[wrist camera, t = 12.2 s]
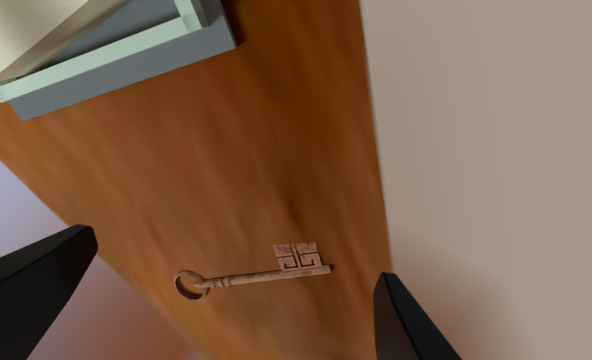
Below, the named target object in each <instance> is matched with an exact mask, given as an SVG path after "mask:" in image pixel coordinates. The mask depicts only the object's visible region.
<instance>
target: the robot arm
mask: <svg viewBox="0 0 592 360" xmlns="http://www.w3.org/2000/svg"><path fill="white" fill-rule="evenodd" d="M97 250H98V243H97V240H96V237H95V233H94V230H93V228H92V227H91V226H87V225H80V224H77V225H74V226H71V227H69V228H67V229H65V230H62V231H60V232H58V233H55V234H53V235H51V236H49V237H46V238H44V239H42V240H39V241H37V242H35V243H33V244H30V245H28V246H26V247H23V248H21V249H19V250H17V251H14V252H12V253H9V254H7V255H5V256H3V257H0V360H26V359H27V358H28V357H29V355H30V354H31V352H32V351H33V350H34V348H35V347H36V345H37V344H38V343H39V341H40V340H41V338H42V337H43V336H44V334H45V333H46V331H47V330H48V329H49V327H50V326H51V324H52V323H53V322H54V320H55V319H56V318H57V316H58V315H59V313H60V312H61V311H62V309H63V308H64V306H65V305H66V303H67V302H68V301H69V299H70V297H71V296H72V294H73V293H74V291H75V289H76V288H77V286H78V284H79V282H80V281H81V279H82V277H83V276H84V274H85V272H86V270H87V269H88V267H89V265H90V264H91V262H92V260H93V258H94V256H95V255H96V253H97ZM373 300H374V327H375V347H376V355H377V360H462V359H461V357H460V356H459V355H458V354H457V352H456V351H455V350H454V348H453V347H452V346H451V345H450V343H449V342H448V341H447V339H446V338H445V337H444V335H443V334H442V333H441V332H440V330H439V329H438V328H437V327H436V325H435V324H434V323H433V321H432V320H431V319H430V318H429V316H428V315H427V314H426V312H425V311H424V310H423V308H422V307H421V306H420V305H419V303H418V302H417V301H416V299H415V298H414V297H413V296H412V294H411V293H410V292H409V290H407V288H406V287H405V285H404V284H403V283H402V281H401V280H400V279H399V278H398V276H397V275H396V274H394V273H388V272H382V273H381V274H380V276H379V278H378V281H377V283H376V286H375V289H374V294H373Z"/></svg>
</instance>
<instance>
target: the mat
mask: <svg viewBox="0 0 592 360" xmlns="http://www.w3.org/2000/svg"><path fill="white" fill-rule="evenodd" d="M199 1H200V4H201V6H202V9H203V11H204V14H205V16H206V19H207V21H208V24H209V27H206V28H204V29H201V30H198V31H195V32H193V33H190V34H187V35H185V36H182V37H179V38H177V39H174V40H171V41H168V42H166V43H163V44H160V45H158V46H155V47H152V48H150V49H147V50H144V51H141V52H139V53H136V54H133V55H131V56H128V57H125V58H123V59H120V60H117V61H114V62H112V63H109V64H106V65H104V66H101V67H98V68H96V69H93V70H90V71H87V72H85V73H82V74H79V75H77V76H74V77H71V78H69V79H66V80H63V81H60V82H58V83H55V84H52V85H50V86H47V87H44V88H42V89H39V90H36V91H33V92H31V93H28V94H25V95H23V96H20V97H17V98H14V99H11V100H8V101H7V102H8V103H9V104H10V105H11V107H12V108H13V109H14V110H15V112H16V113H17V114H18V116H19V117H20V118H21V119H22V121H26V120H29V119H31V118H34V117H37V116H40V115H43V114H46V113H49V112H52V111H55V110H58V109H60V108H63V107H66V106H69V105H72V104H75V103H78V102H81V101H84V100H87V99H89V98H92V97H95V96H98V95H101V94H104V93H107V92H110V91H113V90H116V89H118V88H121V87H124V86H127V85H130V84H133V83H136V82H139V81H142V80H145V79H147V78H150V77H153V76H156V75H159V74H162V73H165V72H168V71H171V70H174V69H177V68H179V67H182V66H185V65H188V64H191V63H194V62H197V61H200V60H203V59H206V58H208V57H211V56H214V55H217V54H220V53H223V52H226V51H229V50H232V49H235V48H237V47H238V46H237V43H236V41H235V38H234V35H233V33H232V30H231V27H230V25H229V22H228V19H227V17H226V14H225V11H224V9H223V6H222V3H221V1H220V0H199ZM179 17H181V15H180V13H179V11H178V8H177V6H176V4H175V2H174V0H132V1H130V2H129V3H128V4H126V5H125V6H124V7H122V8H121V9H120V10H118V11H117V12H116V13H115V14H113V15H112V16H111V17H109V18H108V19H107V20H105V21H104V22H103V23H101V24H100V25H99V26H98V27H96V28H95V29H94V30H92V31H91V32H90V33H88V34H87V35H86V36H84V37H83V38H82V39H81V40H79V41H78V42H77V43H75V44H74V45H73V46H71V47H70V48H69V49H67V50H66V51H65V52H64V53H62V54H61V55H60V56H58V57H57V58H56V59H54V60H53V61H52V62H50V63H49V64H48V65H47V66H45V67H44V68H43V69H41V70H40V71H42V70H44V69H47V68H50V67H52V66H55V65H57V64H60V63H63V62H65V61H68V60H70V59H73V58H75V57H78V56H81V55H83V54H86V53H88V52H91V51H93V50H96V49H99V48H101V47H104V46H106V45H109V44H112V43H114V42H117V41H119V40H122V39H124V38H127V37H130V36H132V35H135V34H137V33H140V32H142V31H145V30H148V29H150V28H153V27H155V26H158V25H160V24H163V23H166V22H168V21H171V20H173V19H176V18H179ZM38 72H39V71H38ZM34 73H37V72H34ZM34 73H30V74H26V75H22V76H18V77H15V78H16V79H17V80H19V79H21V78H24V77H26V76H29V75H32V74H34Z"/></svg>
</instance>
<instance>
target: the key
mask: <svg viewBox="0 0 592 360" xmlns="http://www.w3.org/2000/svg"><path fill="white" fill-rule="evenodd" d="M296 245H297V248H298V251H299V254H300V253H307V252H314V251H318V250H317V247H316V244H315V243H309V245H306V243H300V244H296ZM279 246H280V249H278V248H277V245H273V247H274V250H275V253H276V256H277V257H278V256H285V255H292V252H291V249H290V247H289V244H284V245H279ZM292 247H293V250H294V254H295V257H296V260H297V263H298V266H296V263H295V260H294V258H293V256H288V257H281V258H278V261H279V264H280V267H281V270H278V271H270V272H262V273H254V274H246V275H238V276H230V277H229V276H226V277H225V278H222V277H221V278H217V279H214V278H213V279H209V280H203V279H202V278H201V277H200V276H199V275H198V274H196V273H194V272H191V271H187V270H182V271H178V272H177V273H176V274H175V276H174V285H175V288H176V289H177V291H178V292H179V293H180V294H181V295H182V296H183V297H185V298H187V299H190V300H193V301H198V300H201V299H203V298H204V297H205V296H206V295H207V287H216V286H220V287H221V286H225V285H226V286H232V285H235V284H243V283H251V282H259V281H267V280H275V279H284V278H292V277H300V276H308V275H316V274H325V273H331V270H330V266H329V264H327V265H322V264H321V260H320V257H319V254H318V253H311V254H304V255H300V257H301V260H302V264H303V265H305V266H301V264H300V261H299V258H298V255H297V253H296V250H295V247H294V244H292ZM311 259H313V260H314V263H315V264H313V265H306V264H312V261H311ZM284 263H286V266H287V268H285V266H284ZM291 266H295V267H291ZM181 275H187V276H191V277H193V278H194V279H196V280H197V281H198V282H197V283H195V284H194V286H196V287H199V288H203V294H202V295H199V296H193V295H190V294H188V293H186V292H184V291H183V290H182V289H181V288H180V287H179V286H178V284H177V280H176V279H177V277H179V276H181Z"/></svg>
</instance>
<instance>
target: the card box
mask: <svg viewBox="0 0 592 360" xmlns="http://www.w3.org/2000/svg"><path fill="white" fill-rule="evenodd" d="M130 1H132V0H0V81H3V80H7V79H10V78H14V77H18V76H22V75H26V74H30V73H34V72H38V71H40V70H41V69H43V68H44V67H45V66H47V65H48V64H49V63H50V62H52V61H53V60H54V59H56V58H57V57H58V56H60V55H61V54H62V53H64V52H65V51H66V50H67V49H69V48H70V47H71V46H73V45H74V44H75V43H77V42H78V41H79V40H81V39H82V38H83V37H84V36H86V35H87V34H88V33H90V32H91V31H92V30H94V29H95V28H96V27H98V26H99V25H100V24H101V23H103V22H104V21H105V20H107V19H108V18H109V17H111V16H112V15H113V14H115V13H116V12H117V11H118V10H120V9H121V8H122V7H124V6H125V5H126V4H128V3H129V2H130Z"/></svg>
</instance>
